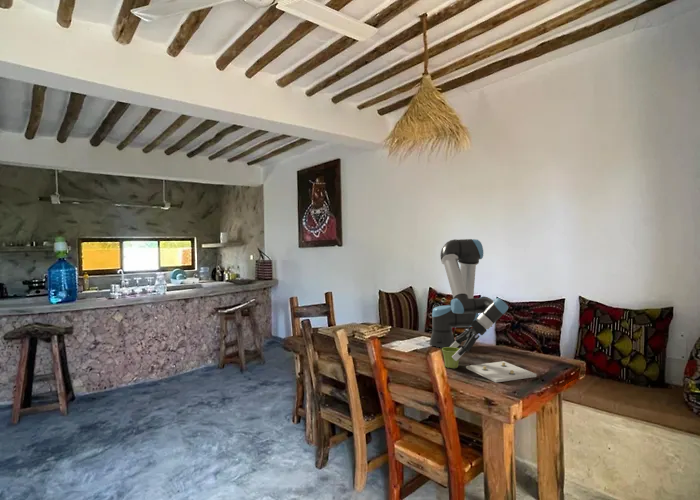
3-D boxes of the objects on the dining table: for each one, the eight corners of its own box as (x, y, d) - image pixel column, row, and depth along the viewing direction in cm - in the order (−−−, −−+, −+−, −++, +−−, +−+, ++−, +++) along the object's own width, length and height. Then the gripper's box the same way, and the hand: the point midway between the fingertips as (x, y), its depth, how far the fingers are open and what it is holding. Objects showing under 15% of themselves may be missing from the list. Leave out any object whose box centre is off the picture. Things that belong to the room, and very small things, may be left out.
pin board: (466, 368, 197) (466, 362, 197) (503, 363, 203) (503, 358, 203) (495, 382, 176) (495, 376, 176) (536, 376, 183) (536, 370, 183)
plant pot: (454, 363, 206) (454, 346, 206) (465, 368, 197) (465, 350, 197) (438, 365, 203) (438, 347, 203) (448, 370, 194) (448, 352, 194)
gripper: (494, 335, 186) (462, 368, 186) (480, 325, 210) (451, 354, 211) (482, 324, 186) (450, 356, 187) (469, 315, 211) (441, 343, 212)
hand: (451, 355), depth 199 cm, fingers open, 13 cm apart
